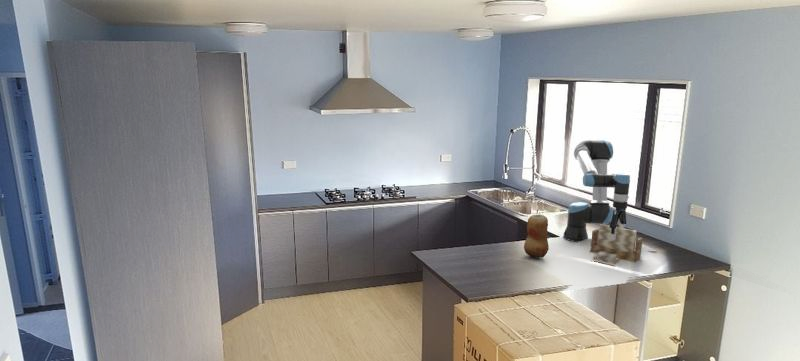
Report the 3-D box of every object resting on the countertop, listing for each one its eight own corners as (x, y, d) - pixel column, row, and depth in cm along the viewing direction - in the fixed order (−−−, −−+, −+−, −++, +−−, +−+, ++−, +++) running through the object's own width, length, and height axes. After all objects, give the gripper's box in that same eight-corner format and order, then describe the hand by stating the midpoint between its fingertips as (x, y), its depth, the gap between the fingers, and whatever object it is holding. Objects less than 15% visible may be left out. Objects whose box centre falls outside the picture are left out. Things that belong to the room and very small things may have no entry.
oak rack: (588, 254, 298) (590, 231, 296) (596, 249, 307) (598, 228, 305) (634, 264, 281) (637, 241, 279) (641, 259, 290) (644, 237, 288)
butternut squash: (518, 257, 289) (521, 214, 285) (530, 252, 299) (533, 211, 295) (541, 263, 280) (544, 219, 276) (552, 258, 290) (555, 215, 285)
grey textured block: (592, 262, 286) (593, 257, 285) (597, 259, 291) (597, 254, 290) (614, 267, 278) (615, 262, 277) (619, 264, 283) (619, 259, 283)
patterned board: (596, 251, 300) (599, 224, 297) (598, 250, 302) (601, 224, 299) (632, 259, 287) (635, 231, 284) (633, 258, 288) (636, 230, 286)
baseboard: (638, 253, 303) (656, 253, 305) (638, 249, 303) (657, 248, 305) (609, 238, 333) (626, 238, 335) (609, 234, 333) (626, 234, 335)
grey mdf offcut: (596, 258, 284) (597, 253, 283) (599, 255, 288) (600, 251, 288) (613, 261, 278) (614, 257, 278) (616, 259, 283) (616, 254, 283)
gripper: (619, 205, 277) (615, 242, 280) (634, 199, 295) (630, 234, 299) (605, 202, 282) (602, 239, 285) (621, 197, 300) (617, 231, 304)
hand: (616, 237), depth 292 cm, fingers open, 13 cm apart
